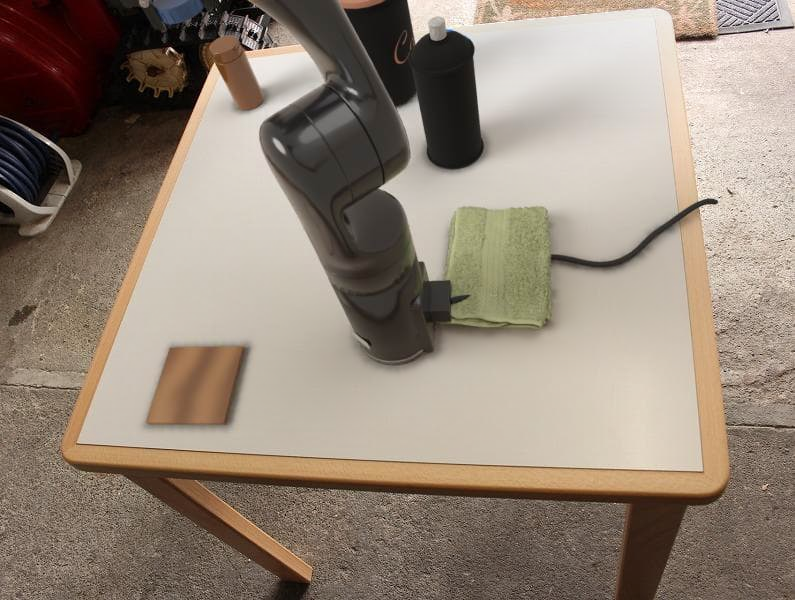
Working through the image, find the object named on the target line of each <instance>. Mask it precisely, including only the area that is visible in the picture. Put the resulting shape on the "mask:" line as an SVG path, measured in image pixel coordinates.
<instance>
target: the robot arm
mask: <svg viewBox="0 0 795 600" xmlns="http://www.w3.org/2000/svg"><path fill="white" fill-rule="evenodd" d="M247 1H248V2H249V3H251V4H252V5H253V6H255V7H256V8H258V9H259V10H261V11H263V12H264V13H265V14H266V15H268V16H269V17H270V18H272V19H273V20H274V21H276V23H278V24H279V25H280V26H282V27H283V28H284V29H285V30H286V31H287V32H289V33H290V35H291V36H292V37H293V38H294V39H295V40H296V41H297V43H299V44H300V46H301V47H302V48H303V49H304V50H305V51H306V53H307V54H308V56H309V57H310V58H311V59H312V61H313V63H314V64H315V66H316V67H317V69H318V70H319V71H318V72H319V73H320V74H321V76H322V78H323V80H324V83H323V84H321V85H320V86H318V87H316V88H313V90H311V91H309V92H307V93H306V94H304V95H302V96H301V97H299V98H298V99H296V100H295V101H293V102H291V103H290V104H287V106H284V107H283V108H281V109H280V110H278V111H276V112H274V113H273V114H272V115H270V116H269V117H267V118H266V119H265V120H264V121H262V123H261V124H260V127H259V132H258V141H259V144H260V150H261V152H262V154H263V157H264V159H265V162H266V164H267V166H268V168H269V169H270V171H271V173H272V175H273V177H274V178H275V181H276V182H277V183H278V185H279V188H280V189H281V190H282V192H283V194H284V196H285V197H286V199H287V200H288V202H289V204H290V205H291V208H292V209H293V211H294V213H295V215H296V216H297V219H298V220H299V223H300V224H301V227H302V228H303V230H304V232H305V234H306V236H307V238H308V240H309V242H310V244H311V246H312V247H313V249H314V252H315V253H316V256H317V258H318V260H319V262H320V264H321V266H322V268H323V270H324V273H325V275H326V277H327V279H328V281H329V283H330V285H331V287H332V289H333V291H334V293H335V295H336V298H337V299H338V301H339V304H340V306H341V308H342V309H343V312H344V314H345V316H346V317H347V321H348V322H349V324H350V326H351V328H352V330H350V332H351V334H352V337H353V338H355V339H356V340H357V342H358V345H359V346H360V348H361V350H362V352H363V354H364V355H366V356H367V358H369V359H370V360H372V361H374V362H377V363H379V364H382V365H387V366H398V365H399V366H400V365H404V364H407V363H410V362H412V361H414V360H416V359H418V358H419V357H421V356H422V355H423V354H425V353H426V354H427V353H433V352H434V351H435V335H436V330H437V324H436V323H440V322H451V304H453V303H457V302H461V301H463V300H466V299H467V298H468V297H469V296H470V295H461V296H457V297H452V298H451V292H452V286H451V282H450V280H445V279H441V280H430V278H429V275H428V270H427V267H426V263H425V262H424V261H423V260H422V261H421V260H420V261H419V257H418V255H417V251H416V247H415V244H414V240H413V239H414V238H413V235H412V231H411V229H410V225H409V220H408V216H407V214H406V211H405V209H404V207H403V205H402V204H401V202H400V201H399V200H398V198H397V197H396V196H394V195H392V194H391V193H390V192H387V191H385V190H383V189H381V187H382V186H384V185H386V184H387V183H389V182H390V181H392V180H393V179H395V178H396V177H397V176H399V175H400V174H401V173H402V172H403V171H405V169H407V167H409V164H410V160H411V147H410V141H409V137H408V134H407V130H406V128H405V125H404V122H403V120H402V118H401V116H400V113H399V111H398V109H397V106H396V107H395V105H394V103H393V101H392V99H391V97H390V95H389V93H388V91H387V89H386V87H385V85H384V83H383V81H382V80H381V78H380V76H379V74H378V72H377V70H376V68H375V67H374V65H373V63H372V61H371V59H370V57H369V55H368V54H367V52H366V50H365V48H364V46H363V44H362V42H361V41H360V39H359V37H358V35H357V33H356V31H355V29H354V28H353V26H352V24H351V22H350V20H349V18H348V16H347V14H346V13H345V11H344V9H343V7H342V5H341V3H340V1H339V0H247ZM119 2H120V3H121V4H122V6H123V7H124V8H126V9H132V8H134V7H139V8H141V10H142V11H143V12H144V14H145V16H146V17H147V19H148V21H149V23H150V25H151V26H152V28H153V29H154V30H155V31H158V30H160V32H161V33H165V32H167V31H168V30H167V28H166V25H165V23H164V22H162V21H161V19H160V17H159V15H158V14H157V12H156V9H155V8H154V6H153V0H119ZM203 3H204V7H205V9H206V11H207V13H211V12H213V11H214V9H213V7H214V6H215V0H203ZM717 204H719V200H717V199H716V198H712V197H708V198H704V199H701V200H698V201H696V202H694V203H692V204H690V205H689V206H687V207H686V208H684V209H683V210H682V211H680V212H679V213H677V214H676V215H675V216H673V217H672V218H670V219H669V220H667V221H666V222H664V223H663V224H661V225H660V226H659V227H657V228H656V229H654V230H653V231H652V232H650V234H648V235H647V236H646V237H645V238H644V239H643V240H642V241H641V242H639V244H638V245H637V246H636V247H635V248H634V249H632V250H631V251H630V252H628V253H627V254H625V255H623V256H621V257H618V258H616V259H612V260H607V261H594V260H588V259H583V258H578V257H574V256H569V255H565V254H564V255H563V254H555V253H553V254H552V253H550V254H551V258H550V259H551V261H559V262H560V261H561V262H567V263H571V264H574V265H579V266H584V267H590V268H598V269H599V268H600V269H601V268H610V267H615V266H619V265H622V264H624V263H626V262H628V261H630V260H633V258H635V257H636V256H638V254H640V253H641V252H642V251H643V250H644V249H645V248H646V247H647V246H648V245H649V244H650V243H651V242H652V241H653V240H654V239H655V238H657V237H658V236H659V235H660V234H662V233H664V232H665V231H666V230H668V229H669V228H671V227H672V226H674V225H675V224H677V223H678V222H680V221H681V220H682V219H684V218H685V217H686V216H688V215H690V214H691V213H692V212H694V211H696V210H697V209H700V208H701V207H704V206H707V205H712V206H714V205H715V206H716V205H717Z"/></svg>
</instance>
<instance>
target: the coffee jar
mask: <svg viewBox="0 0 795 600" xmlns="http://www.w3.org/2000/svg"><path fill="white" fill-rule="evenodd" d="M339 1H340V3H341V5H342V7H343V9H344V11H345V13H346V14H347V16H348V18H349V20H350V22H351V24H352V26H353V28H354V29H355V31H356V33H357V35H358V37H359V39H360V41H361V42H362V44H363V46H364V48H365V50H366V52H367V54H368V55H369V57H370V59H371V61H372V63H373V65H374V67H375V68H376V70H377V72H378V74H379V76H380V78H381V80H382V81H383V83H384V85H385V87H386V89H387V91H388V93H389V95H390V97H391V99H392V101H393V103H394V105H395V107H396V108H397V107H399V106H402V105H403V104H405V103H407V102H408V101H410V100H411V99H412V98H413V97H414V96H415V95H416V94H417V91H416V86H415V81H414V76H413V71H412V68H411V66H410V65H409V62H408V56H409V53H410V51H411V49H412V48H413V46H414V45H415V44H416V39H415V33H414V27H413V23H412V17H411V13H410V7H409V1H408V0H339Z"/></svg>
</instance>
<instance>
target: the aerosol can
mask: <svg viewBox="0 0 795 600" xmlns="http://www.w3.org/2000/svg"><path fill="white" fill-rule="evenodd" d="M427 24H428V31H429V32H428V33H426V34H424V35H423V36H422V37H420V38H419V39H418V41H417V42H415V45H414V46H413V48H412V49H411V51H410V53H409V56H408V62H409V65H410V66H411V68H412V71H413V76H414V81H415V86H416V96H417V101H418V106H419V111H420V117H421V122H422V127H423V132H424V136H425V142H426V156H427V158H428V160H429V162H431V163H432V164H433V165H435V166H436V167H438V168H441V169H446V170H456V169H463V168H466V167H469V166H470V165H471V164H473V163H475V162H476V161H477V160H478V159H479V158H480V157H481V156H482V154H483V153H484V148H485V142H484V140H483V138H482V132H481V130H482V129H481V120H480V112H479V111H480V110H479V101H478V90H477V89H478V88H477V80H476V69H475V60H474V56H475V51H476V47H475V44H474V42H473V41H472V39H471V38H469V37H468V36H467V35H465V34H463V33H460V32H459V31H456V30H455V29H454V30H453V29H448V28H447V26H446V20H445V18H444V17H442V16H433V17H431V19H429V21H428V22H427Z"/></svg>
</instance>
